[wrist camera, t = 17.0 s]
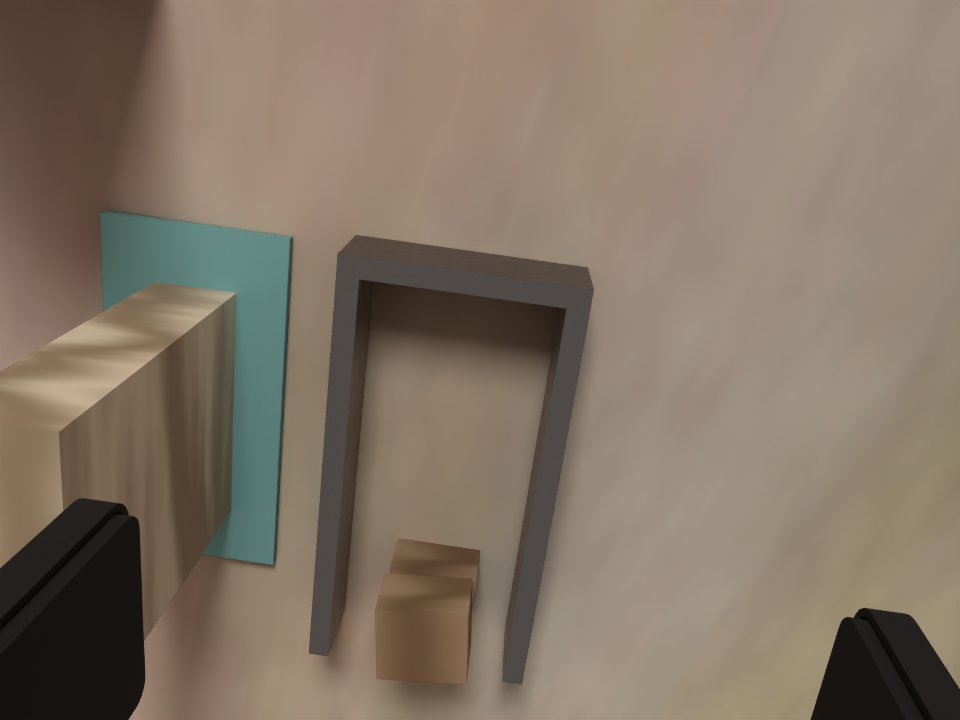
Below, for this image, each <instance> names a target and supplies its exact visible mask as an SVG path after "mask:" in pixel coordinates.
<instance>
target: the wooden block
mask: <svg viewBox="0 0 960 720" xmlns="http://www.w3.org/2000/svg"><path fill="white" fill-rule="evenodd" d="M235 330H236V293H233V292H225V291H218V290H211V289H203V288H196V287H188V286H181V285H174V284H166V283H159V282H153V283H152V284H150V285H148V286H146V287H145V288H143V289H141V290H139V291H138V292H136V293H134V294H133V295H131V296H129V297H127V298H126V299H124V300H122V301H121V302H119V303H117V304H115V305H114V306H112V307H110V308H109V309H107V310H105V311H103V312H102V313H100V314H98V315H97V316H95V317H93V318H91V319H90V320H88V321H86V322H85V323H83V324H81V325H79V326H78V327H76V328H74V329H73V330H71V331H69V332H67V333H66V334H64V335H62V336H60V337H59V338H57V339H55V340H54V341H52V342H50V343H48V344H47V345H45V346H43V347H42V348H40V349H38V350H36V351H35V352H33V353H31V354H30V355H28V356H26V357H24V358H23V359H21V360H19V361H18V362H16V363H14V364H12V365H11V366H9V367H7V368H6V369H4V370H2V371H0V568H1V567H2V566H3V565H4V564H5V563H6V562H8V561H9V560H10V559H11V558H12V557H13V556H14V555H15V554H16V553H18V552H19V551H20V550H21V549H22V548H23V547H24V546H25V545H26V544H27V543H29V542H30V541H31V540H32V539H33V538H34V537H35V536H36V535H37V534H39V533H40V532H41V531H42V530H43V529H44V528H45V527H46V526H47V525H48V524H50V523H51V522H52V521H53V520H54V519H55V518H56V517H57V516H58V515H60V514H61V513H62V512H63V511H64V510H65V509H66V508H67V507H68V506H70V505H71V504H72V503H73V502H74V501H76V500H77V499H79V498H86V499H93V500H100V501H107V502H115V503H122V504H123V505H125V506H126V508H127V510H128V514H129V516H135V517H136V518H137V519H138V521H139V526H140V547H141V574H142V601H143V629H144V640H145V639H146V637H147V636H148V634H149V633H150V631H151V630H152V628H153V627H154V625H155V624H156V622H157V621H158V619H159V618H160V616H161V615H162V613H163V612H164V610H165V609H166V607H167V606H168V604H169V603H170V601H171V600H172V598H173V597H174V595H175V594H176V592H177V591H178V589H179V588H180V586H181V585H182V583H183V582H184V580H185V579H186V577H187V576H188V574H189V573H190V571H191V570H192V568H193V567H194V565H195V564H196V562H197V561H198V559H199V558H200V556H201V555H202V553H203V552H204V550H205V549H206V547H207V546H208V545H209V543H210V542H211V540H212V539H213V537H214V536H215V534H216V533H217V531H218V530H219V528H220V527H221V525H222V524H223V522H224V521H225V519H226V518H227V516H228V515H229V513H230V512H231V500H232V458H233V415H234V373H235Z"/></svg>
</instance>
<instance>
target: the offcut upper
mask: <svg viewBox="0 0 960 720" xmlns="http://www.w3.org/2000/svg"><path fill="white" fill-rule="evenodd" d="M472 579H473V578H457V577H439V576H421V575H404V574H385V577H384V581H383V584H382V588H381V591H380V595H379V598H378V602H377V605H376V609H375V629H376V679H383V680H399V681H415V682H431V683H447V684H463V685H466V684H467V675H468V665H469V656H470V646H471V615H472Z"/></svg>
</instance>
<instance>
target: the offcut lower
mask: <svg viewBox="0 0 960 720" xmlns="http://www.w3.org/2000/svg"><path fill="white" fill-rule="evenodd" d="M479 553H480V550H474V549H467V548H460V547H454V546H447V545H440V544H434V543H427V542H420V541H414V540H407V539H401V538H399V539H398V543H397V546H396V550H395V553H394V557H393V561H392V564H391V568H390V574H404V575H421V576H439V577H457V578H473V579H472V607H473V600H474V594H475V588H476V581H477V572H478V562H479Z"/></svg>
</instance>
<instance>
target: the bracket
mask: <svg viewBox="0 0 960 720" xmlns="http://www.w3.org/2000/svg"><path fill="white" fill-rule="evenodd" d="M373 281H374V282H381V283H388V284H396V285H403V286H410V287H417V288H424V289H431V290H438V291H445V292H452V293H459V294H466V295H473V296H481V297H488V298H495V299H502V300H509V301H516V302H523V303H530V304H537V305H544V306H551V307H559V313H558V319H557V325H556V331H555V337H554V343H553V349H552V355H551V360H550V366H549V372H548V378H547V384H546V390H545V396H544V402H543V408H542V414H541V420H540V426H539V431H538V437H537V443H536V449H535V455H534V461H533V467H532V473H531V479H530V485H529V491H528V497H527V502H526V508H525V514H524V520H523V526H522V532H521V538H520V544H519V550H518V556H517V562H516V567H515V573H514V579H513V585H512V591H511V597H510V603H509V609H508V615H507V621H506V627H505V635H504V657H503V679H502V682H508V683H514V684H521V685H522V681H523V675H524V670H525V664H526V659H527V653H528V648H529V642H530V637H531V631H532V626H533V620H534V615H535V609H536V604H537V598H538V593H539V587H540V582H541V576H542V571H543V565H544V560H545V555H546V549H547V544H548V538H549V533H550V527H551V522H552V516H553V511H554V505H555V500H556V494H557V489H558V483H559V478H560V472H561V467H562V461H563V456H564V450H565V445H566V439H567V434H568V428H569V423H570V417H571V412H572V407H573V401H574V396H575V390H576V385H577V379H578V374H579V368H580V363H581V357H582V352H583V346H584V341H585V335H586V330H587V324H588V319H589V313H590V308H591V302H592V297H593V291H594V288H593V285H592V281H591V277H590V274H589V270H588V268H587V267H579V266H572V265H565V264H558V263H551V262H544V261H537V260H530V259H523V258H515V257H508V256H501V255H494V254H487V253H480V252H473V251H466V250H459V249H451V248H444V247H437V246H430V245H423V244H416V243H409V242H402V241H394V240H387V239H380V238H373V237H366V236H359V235H356V236H355V237H354V238H353V239H352V240H351V241H350V242H349V243H348V244H347V245H346V246H345V247H344V248H343V249H342V250H341V251H340V252H339V253H338V257H337V271H336V285H335V298H334V312H333V326H332V340H331V354H330V368H329V382H328V395H327V409H326V423H325V437H324V451H323V465H322V479H321V492H320V506H319V520H318V534H317V548H316V562H315V575H314V589H313V603H312V617H311V631H310V645H309V654H316V655H323V656H328V655H329V652H330V649H331V647H332V644H333V641H334V638H335V635H336V632H337V629H338V626H339V623H340V620H341V617H342V614H343V611H344V609H345V598H346V587H347V576H348V564H349V553H350V542H351V530H352V519H353V508H354V496H355V485H356V474H357V462H358V451H359V440H360V428H361V417H362V406H363V394H364V383H365V372H366V360H367V349H368V338H369V326H370V315H371V304H372V292H373Z"/></svg>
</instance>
